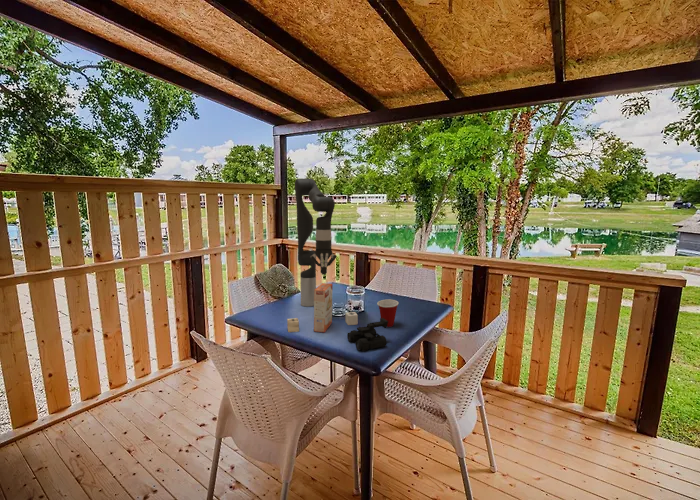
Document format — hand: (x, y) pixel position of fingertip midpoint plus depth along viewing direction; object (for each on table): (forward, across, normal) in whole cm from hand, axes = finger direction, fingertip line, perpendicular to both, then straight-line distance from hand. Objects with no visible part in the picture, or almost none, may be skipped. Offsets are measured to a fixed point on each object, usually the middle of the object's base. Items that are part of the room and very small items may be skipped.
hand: (323, 274), depth 157 cm
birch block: (+27, +15, 0) cm, 31 cm away
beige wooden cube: (+27, -15, -2) cm, 31 cm away
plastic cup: (+27, -32, +5) cm, 42 cm away
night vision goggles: (+27, -16, +23) cm, 39 cm away
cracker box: (+27, 0, 0) cm, 27 cm away
